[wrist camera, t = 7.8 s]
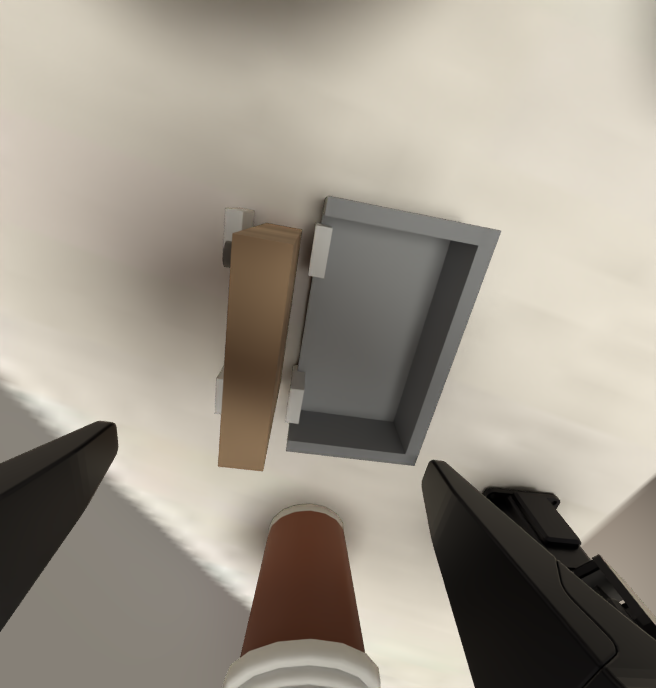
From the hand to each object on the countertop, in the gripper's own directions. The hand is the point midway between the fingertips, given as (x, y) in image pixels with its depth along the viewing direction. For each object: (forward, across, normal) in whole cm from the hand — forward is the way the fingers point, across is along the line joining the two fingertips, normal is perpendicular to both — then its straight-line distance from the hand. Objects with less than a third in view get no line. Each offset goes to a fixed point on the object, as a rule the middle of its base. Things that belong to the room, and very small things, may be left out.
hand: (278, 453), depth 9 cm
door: (+12, +2, 0) cm, 12 cm away
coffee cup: (+12, -3, +19) cm, 23 cm away
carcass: (+12, -2, 0) cm, 12 cm away
